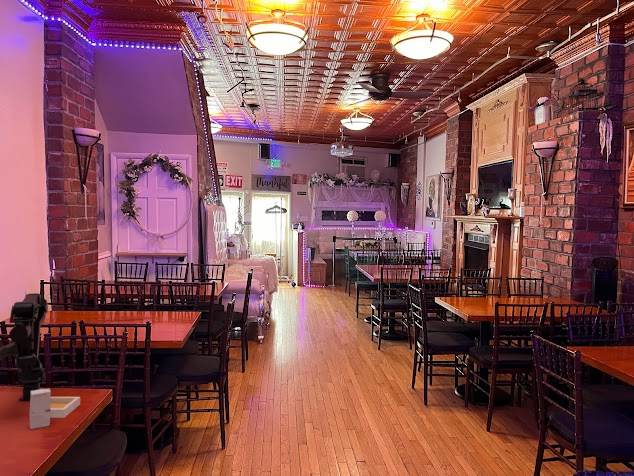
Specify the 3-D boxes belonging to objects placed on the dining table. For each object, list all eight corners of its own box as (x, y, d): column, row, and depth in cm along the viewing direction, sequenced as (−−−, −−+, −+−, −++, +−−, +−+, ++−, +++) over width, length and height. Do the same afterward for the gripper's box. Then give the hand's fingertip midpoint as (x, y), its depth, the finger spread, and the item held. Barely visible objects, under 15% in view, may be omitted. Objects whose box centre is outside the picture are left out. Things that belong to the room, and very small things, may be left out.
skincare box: (30, 429, 160) (30, 394, 160) (29, 424, 164) (29, 390, 163) (50, 425, 163) (51, 391, 163) (49, 421, 167) (49, 387, 167)
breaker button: (50, 406, 180) (50, 403, 180) (70, 406, 180) (70, 403, 180) (39, 414, 172) (39, 411, 172) (61, 414, 172) (61, 411, 172)
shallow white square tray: (47, 404, 182) (47, 396, 182) (80, 404, 183) (80, 396, 182) (29, 417, 170) (29, 409, 169) (64, 417, 170) (64, 409, 170)
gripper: (-3, 333, 176) (-3, 374, 177) (-2, 344, 161) (-2, 388, 162) (31, 329, 183) (31, 369, 183) (36, 340, 168) (36, 383, 168)
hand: (24, 377), depth 174 cm, fingers open, 9 cm apart
